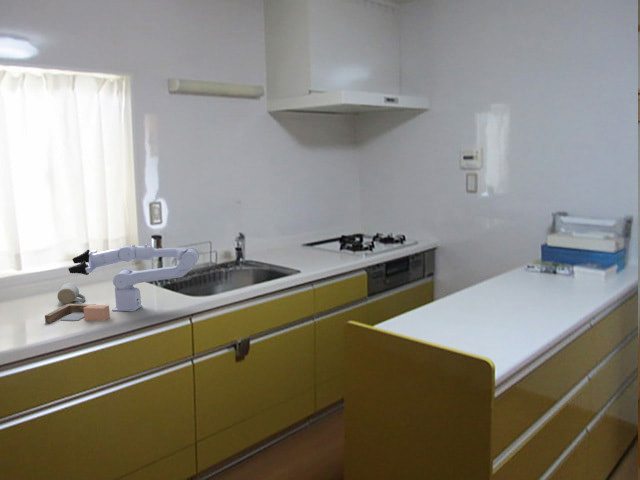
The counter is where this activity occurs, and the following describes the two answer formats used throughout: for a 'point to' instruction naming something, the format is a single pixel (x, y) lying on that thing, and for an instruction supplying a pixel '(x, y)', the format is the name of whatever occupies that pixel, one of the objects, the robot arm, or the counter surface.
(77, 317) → the mat
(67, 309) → the brown l-shaped piece
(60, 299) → the ceramic mug
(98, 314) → the block
